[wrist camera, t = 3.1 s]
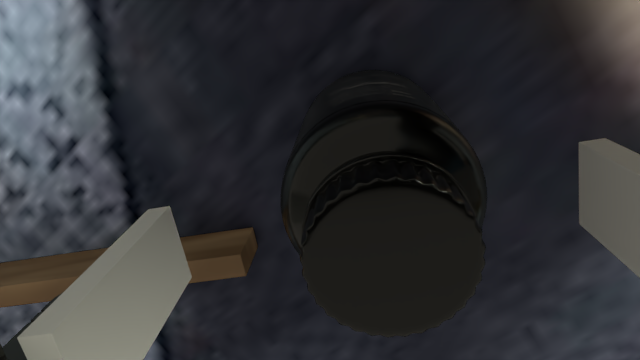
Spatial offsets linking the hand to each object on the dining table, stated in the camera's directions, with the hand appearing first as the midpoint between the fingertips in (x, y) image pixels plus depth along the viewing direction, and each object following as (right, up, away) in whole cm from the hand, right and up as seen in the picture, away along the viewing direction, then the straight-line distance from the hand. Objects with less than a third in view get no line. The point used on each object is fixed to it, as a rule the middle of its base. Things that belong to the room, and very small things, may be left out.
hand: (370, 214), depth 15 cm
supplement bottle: (+1, +3, +8) cm, 9 cm away
